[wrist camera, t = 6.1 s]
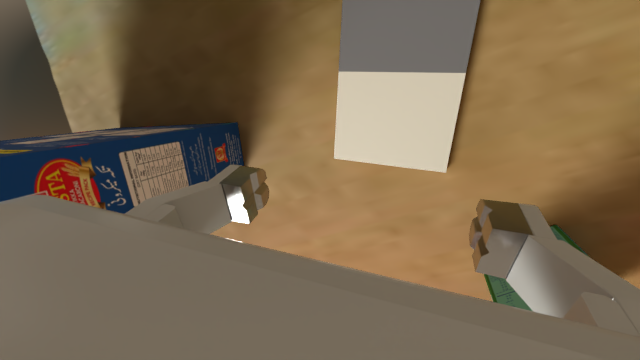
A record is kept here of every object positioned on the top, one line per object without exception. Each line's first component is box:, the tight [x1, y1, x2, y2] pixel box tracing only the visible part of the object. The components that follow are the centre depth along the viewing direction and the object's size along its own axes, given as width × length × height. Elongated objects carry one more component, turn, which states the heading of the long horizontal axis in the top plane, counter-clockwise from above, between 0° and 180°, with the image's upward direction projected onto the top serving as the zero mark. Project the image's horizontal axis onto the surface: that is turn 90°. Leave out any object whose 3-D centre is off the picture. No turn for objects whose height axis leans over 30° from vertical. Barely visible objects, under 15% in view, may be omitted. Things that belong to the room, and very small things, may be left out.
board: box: [334, 0, 480, 173], centre depth 30 cm, size 14×22×1 cm, turn 178°
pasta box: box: [0, 122, 244, 214], centre depth 35 cm, size 28×8×28 cm, turn 95°
